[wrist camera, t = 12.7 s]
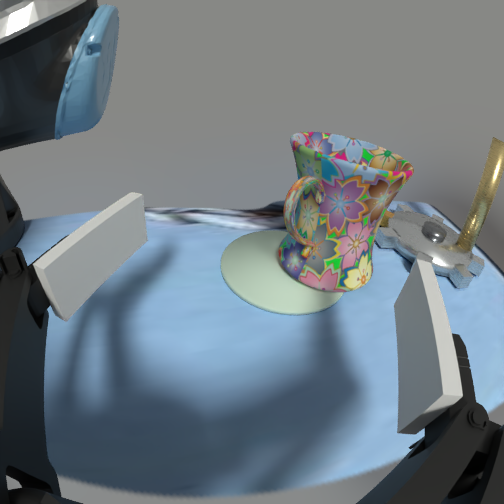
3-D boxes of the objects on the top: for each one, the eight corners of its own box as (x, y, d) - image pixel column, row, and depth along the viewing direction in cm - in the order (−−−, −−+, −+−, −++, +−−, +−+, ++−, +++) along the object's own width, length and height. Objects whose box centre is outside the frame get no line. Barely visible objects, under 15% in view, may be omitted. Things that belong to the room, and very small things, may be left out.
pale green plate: (198, 290, 22) (198, 286, 21) (245, 224, 30) (245, 221, 30) (342, 330, 19) (343, 327, 19) (348, 250, 28) (349, 246, 28)
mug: (310, 227, 30) (329, 129, 24) (387, 269, 25) (424, 164, 19) (225, 275, 23) (233, 139, 17) (322, 344, 18) (377, 192, 12)
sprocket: (377, 266, 26) (425, 105, 17) (369, 204, 38) (395, 98, 29) (491, 298, 23) (550, 170, 14) (458, 232, 35) (490, 136, 26)
